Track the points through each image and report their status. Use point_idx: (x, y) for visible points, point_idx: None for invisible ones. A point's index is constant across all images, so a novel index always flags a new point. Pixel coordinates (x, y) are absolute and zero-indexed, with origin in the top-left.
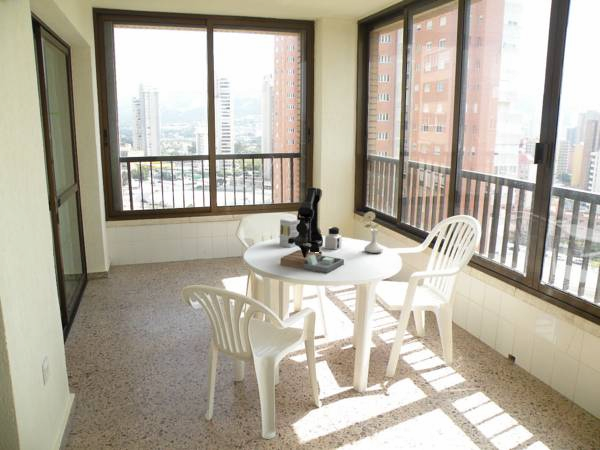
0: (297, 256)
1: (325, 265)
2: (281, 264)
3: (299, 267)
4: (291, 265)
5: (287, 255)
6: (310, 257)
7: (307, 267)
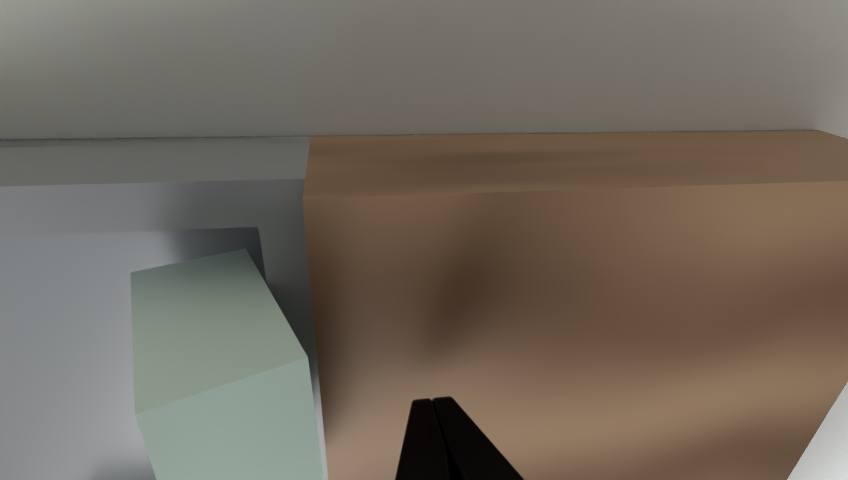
0: (638, 432)
1: (104, 473)
2: (807, 133)
3: (429, 139)
4: (618, 140)
5: (828, 379)
6: (136, 408)
7: (217, 154)
